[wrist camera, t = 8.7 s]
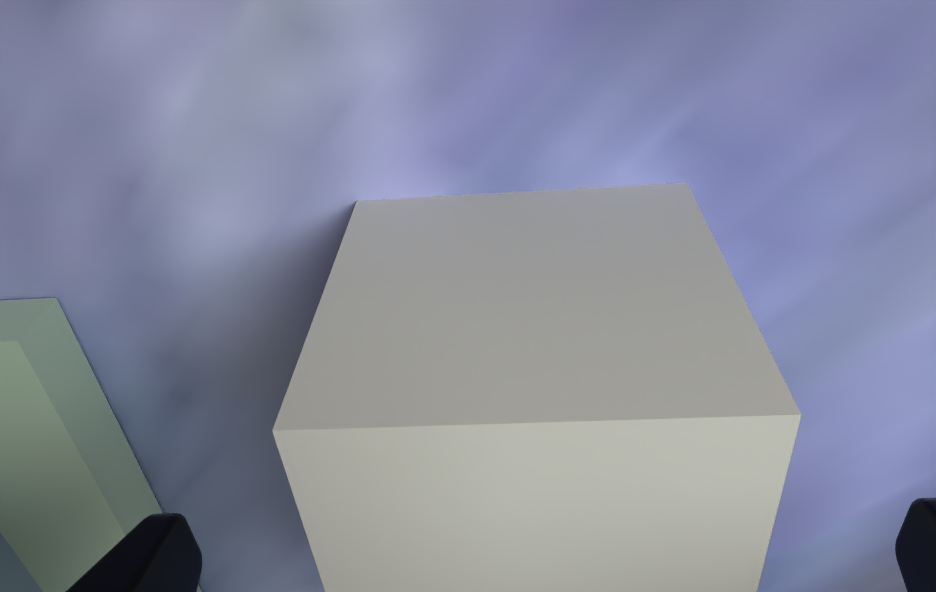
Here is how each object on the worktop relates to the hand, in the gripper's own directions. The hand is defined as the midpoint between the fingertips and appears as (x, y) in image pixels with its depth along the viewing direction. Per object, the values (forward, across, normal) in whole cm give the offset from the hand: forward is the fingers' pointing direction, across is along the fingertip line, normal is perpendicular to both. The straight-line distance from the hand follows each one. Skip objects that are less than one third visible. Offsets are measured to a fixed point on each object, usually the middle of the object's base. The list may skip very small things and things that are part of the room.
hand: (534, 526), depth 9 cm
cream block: (+4, 0, 0) cm, 4 cm away
